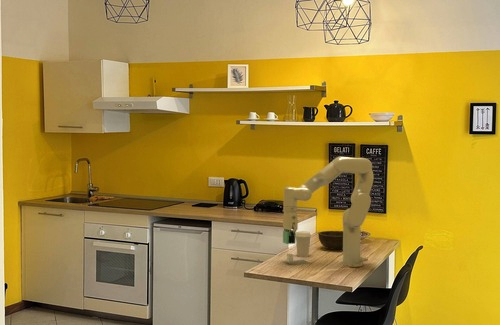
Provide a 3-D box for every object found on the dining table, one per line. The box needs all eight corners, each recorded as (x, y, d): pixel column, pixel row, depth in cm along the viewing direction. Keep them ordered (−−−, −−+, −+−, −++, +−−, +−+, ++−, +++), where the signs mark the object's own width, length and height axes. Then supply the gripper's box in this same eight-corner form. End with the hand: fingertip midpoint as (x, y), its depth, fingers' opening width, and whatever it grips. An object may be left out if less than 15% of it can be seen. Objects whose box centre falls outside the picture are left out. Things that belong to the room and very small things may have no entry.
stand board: (303, 261, 333) (303, 259, 333) (311, 265, 323) (311, 263, 323) (281, 263, 328) (281, 261, 328) (288, 267, 318) (288, 265, 318)
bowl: (352, 246, 380) (352, 231, 379) (352, 253, 358) (352, 237, 358) (319, 245, 384) (319, 230, 383) (317, 251, 362) (317, 235, 362)
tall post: (291, 262, 326) (291, 253, 325) (293, 263, 323) (293, 254, 323) (286, 262, 325) (286, 253, 324) (288, 263, 322) (288, 254, 322)
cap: (291, 241, 327) (291, 230, 327) (295, 243, 322) (295, 231, 322) (282, 242, 325) (283, 230, 325) (286, 244, 320) (287, 232, 320)
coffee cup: (291, 257, 345) (291, 232, 344) (301, 255, 352) (301, 230, 351) (304, 260, 338) (304, 234, 337) (314, 257, 345) (314, 232, 344)
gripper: (303, 211, 316) (302, 244, 317) (289, 207, 332) (288, 239, 333) (290, 211, 313) (289, 245, 314) (277, 207, 329) (276, 239, 330)
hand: (289, 241), depth 323 cm, fingers closed on cap, 5 cm apart
